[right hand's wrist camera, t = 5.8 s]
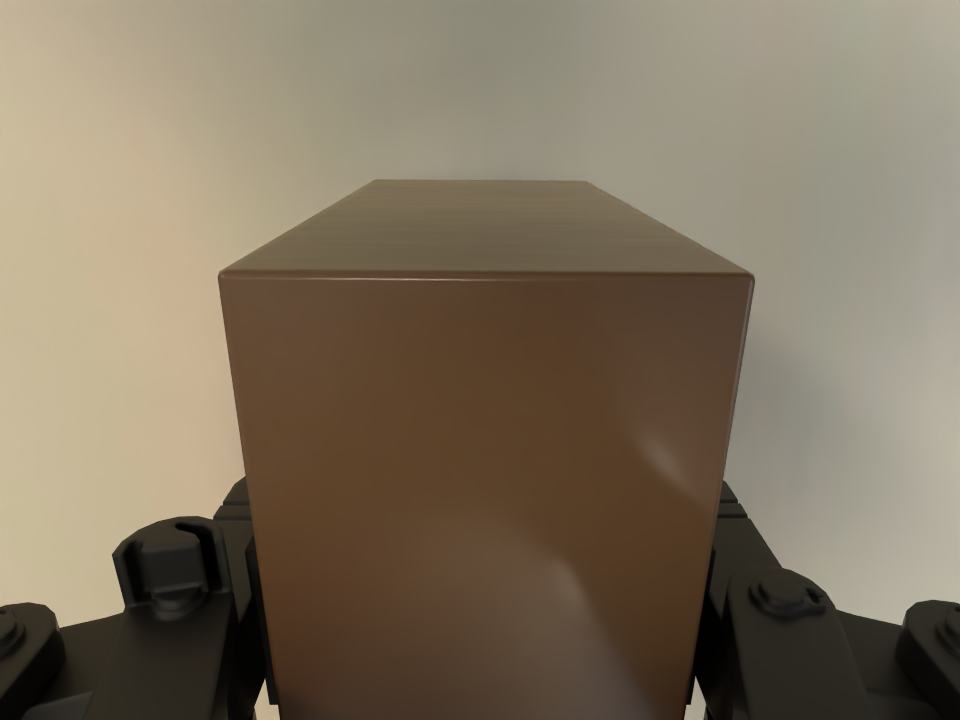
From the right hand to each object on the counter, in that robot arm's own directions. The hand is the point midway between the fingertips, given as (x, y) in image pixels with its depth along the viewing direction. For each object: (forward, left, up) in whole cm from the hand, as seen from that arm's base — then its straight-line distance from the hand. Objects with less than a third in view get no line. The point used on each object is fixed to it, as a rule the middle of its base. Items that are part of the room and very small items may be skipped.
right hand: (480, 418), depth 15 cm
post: (+17, -19, -1) cm, 26 cm away
